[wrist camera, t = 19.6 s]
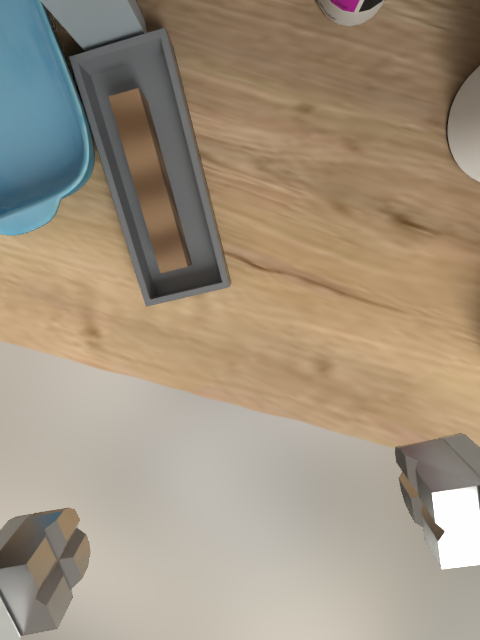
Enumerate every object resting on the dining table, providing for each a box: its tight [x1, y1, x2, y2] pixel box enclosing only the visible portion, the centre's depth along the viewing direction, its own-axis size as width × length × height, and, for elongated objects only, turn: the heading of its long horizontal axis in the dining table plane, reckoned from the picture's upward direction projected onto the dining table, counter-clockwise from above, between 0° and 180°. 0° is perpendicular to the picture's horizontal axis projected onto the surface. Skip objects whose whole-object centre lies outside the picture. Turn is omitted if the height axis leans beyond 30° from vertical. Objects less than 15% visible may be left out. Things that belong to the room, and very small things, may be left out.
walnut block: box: [109, 88, 192, 273], centre depth 41 cm, size 20×4×4 cm, turn 14°
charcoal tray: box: [69, 28, 231, 307], centre depth 42 cm, size 11×28×4 cm, turn 14°
